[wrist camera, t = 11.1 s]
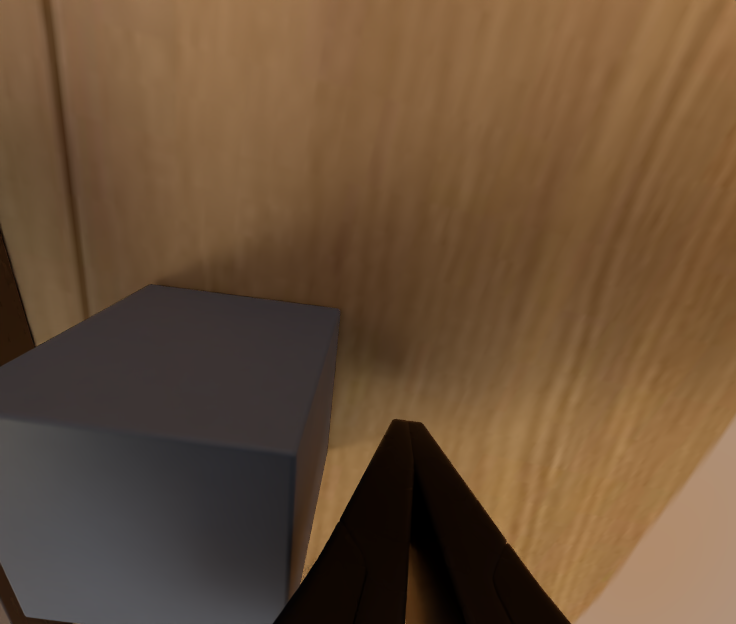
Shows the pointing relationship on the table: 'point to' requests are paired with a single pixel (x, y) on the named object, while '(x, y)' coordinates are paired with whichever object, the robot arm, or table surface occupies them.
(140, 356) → the slate block
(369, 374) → the table surface
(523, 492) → the table surface
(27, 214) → the table surface
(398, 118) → the table surface
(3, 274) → the straightedge
